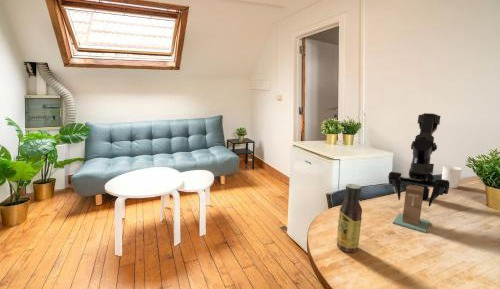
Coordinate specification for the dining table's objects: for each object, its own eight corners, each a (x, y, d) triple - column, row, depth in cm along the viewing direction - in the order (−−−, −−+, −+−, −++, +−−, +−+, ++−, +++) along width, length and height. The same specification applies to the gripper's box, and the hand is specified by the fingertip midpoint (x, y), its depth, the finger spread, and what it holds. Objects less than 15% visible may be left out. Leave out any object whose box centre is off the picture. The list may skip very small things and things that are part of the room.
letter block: (404, 216, 99) (408, 184, 97) (419, 220, 96) (424, 186, 94) (402, 221, 95) (406, 187, 93) (418, 226, 92) (422, 190, 90)
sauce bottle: (333, 242, 82) (337, 181, 79) (352, 241, 83) (357, 181, 79) (342, 254, 76) (347, 189, 72) (362, 253, 76) (368, 188, 73)
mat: (392, 223, 95) (392, 221, 95) (399, 214, 103) (399, 213, 103) (425, 232, 89) (425, 231, 89) (429, 222, 96) (430, 221, 96)
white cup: (456, 185, 139) (459, 166, 138) (460, 189, 132) (463, 170, 131) (438, 182, 143) (441, 165, 141) (442, 187, 136) (444, 168, 134)
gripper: (391, 150, 100) (383, 186, 93) (453, 157, 89) (448, 198, 82) (392, 166, 108) (385, 200, 101) (449, 174, 97) (445, 213, 90)
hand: (413, 202), depth 93 cm, fingers open, 9 cm apart
